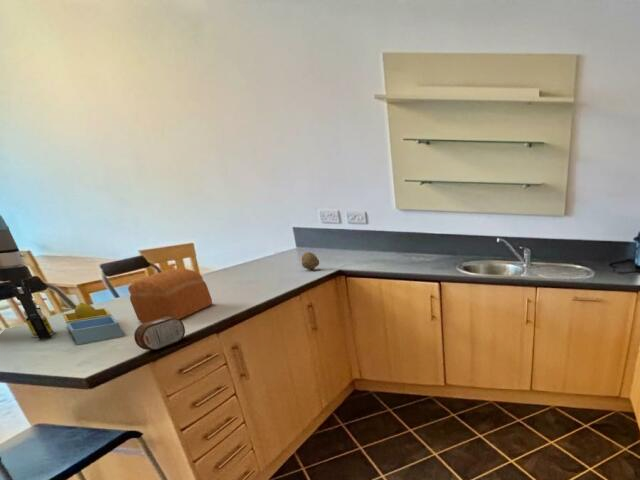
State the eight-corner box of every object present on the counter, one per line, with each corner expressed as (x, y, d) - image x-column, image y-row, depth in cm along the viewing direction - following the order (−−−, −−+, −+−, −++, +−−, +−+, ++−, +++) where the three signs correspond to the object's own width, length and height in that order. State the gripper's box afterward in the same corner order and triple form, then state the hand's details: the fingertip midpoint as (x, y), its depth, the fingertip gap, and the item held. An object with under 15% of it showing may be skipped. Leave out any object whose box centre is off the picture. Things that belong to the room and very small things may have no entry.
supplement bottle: (37, 338, 135) (24, 313, 132) (31, 336, 137) (18, 311, 133) (57, 334, 139) (44, 309, 135) (50, 331, 141) (38, 307, 137)
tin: (182, 337, 139) (173, 312, 135) (190, 337, 138) (182, 313, 134) (139, 354, 125) (128, 327, 122) (148, 354, 125) (137, 328, 121)
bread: (216, 303, 174) (205, 265, 167) (174, 323, 151) (158, 280, 144) (183, 303, 174) (169, 265, 166) (134, 323, 150) (117, 279, 143)
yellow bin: (68, 326, 146) (62, 314, 144) (110, 319, 153) (105, 307, 151) (72, 334, 139) (65, 321, 137) (116, 326, 147) (111, 314, 145)
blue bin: (73, 336, 138) (66, 322, 136) (117, 328, 145) (112, 315, 143) (77, 344, 131) (70, 330, 129) (124, 335, 139) (118, 322, 137)
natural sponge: (323, 269, 242) (320, 251, 238) (315, 272, 234) (312, 253, 230) (308, 268, 243) (305, 250, 238) (300, 271, 235) (296, 253, 230)
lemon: (100, 326, 145) (90, 304, 141) (78, 328, 143) (68, 306, 139) (104, 321, 149) (94, 300, 146) (83, 324, 147) (73, 302, 143)
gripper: (28, 270, 124) (63, 339, 134) (24, 260, 137) (56, 324, 147) (-10, 273, 119) (29, 345, 129) (-10, 263, 132) (25, 329, 142)
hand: (44, 334), depth 138 cm, fingers open, 10 cm apart
